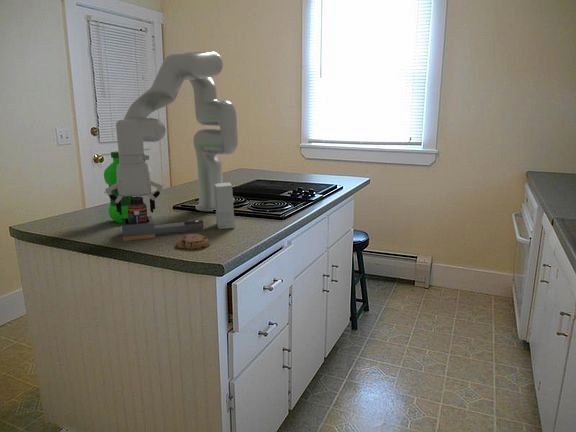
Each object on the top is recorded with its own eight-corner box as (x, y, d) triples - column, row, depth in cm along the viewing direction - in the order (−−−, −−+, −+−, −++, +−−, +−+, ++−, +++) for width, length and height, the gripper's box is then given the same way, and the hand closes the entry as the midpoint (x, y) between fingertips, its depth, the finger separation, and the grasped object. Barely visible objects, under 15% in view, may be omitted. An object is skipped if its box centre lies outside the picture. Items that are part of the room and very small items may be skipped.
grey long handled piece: (200, 225, 162) (199, 211, 160) (205, 232, 153) (204, 218, 152) (122, 232, 153) (121, 218, 152) (123, 241, 144) (121, 225, 143)
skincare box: (235, 228, 158) (233, 185, 154) (217, 229, 156) (215, 186, 153) (232, 222, 166) (230, 181, 162) (215, 223, 164) (213, 182, 161)
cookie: (199, 252, 134) (199, 243, 133) (169, 248, 138) (168, 238, 137) (217, 243, 143) (216, 233, 142) (188, 239, 147) (187, 230, 146)
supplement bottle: (142, 234, 147) (139, 199, 144) (125, 233, 148) (122, 199, 145) (151, 229, 152) (149, 196, 149) (135, 228, 153) (132, 195, 151)
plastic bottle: (124, 216, 175) (118, 149, 168) (144, 219, 169) (138, 151, 163) (102, 222, 166) (94, 152, 160) (122, 226, 161) (115, 154, 155)
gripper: (159, 157, 150) (162, 208, 155) (102, 159, 144) (107, 212, 149) (161, 160, 144) (165, 213, 148) (102, 162, 138) (107, 218, 142)
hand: (136, 212), depth 148 cm, fingers open, 9 cm apart
